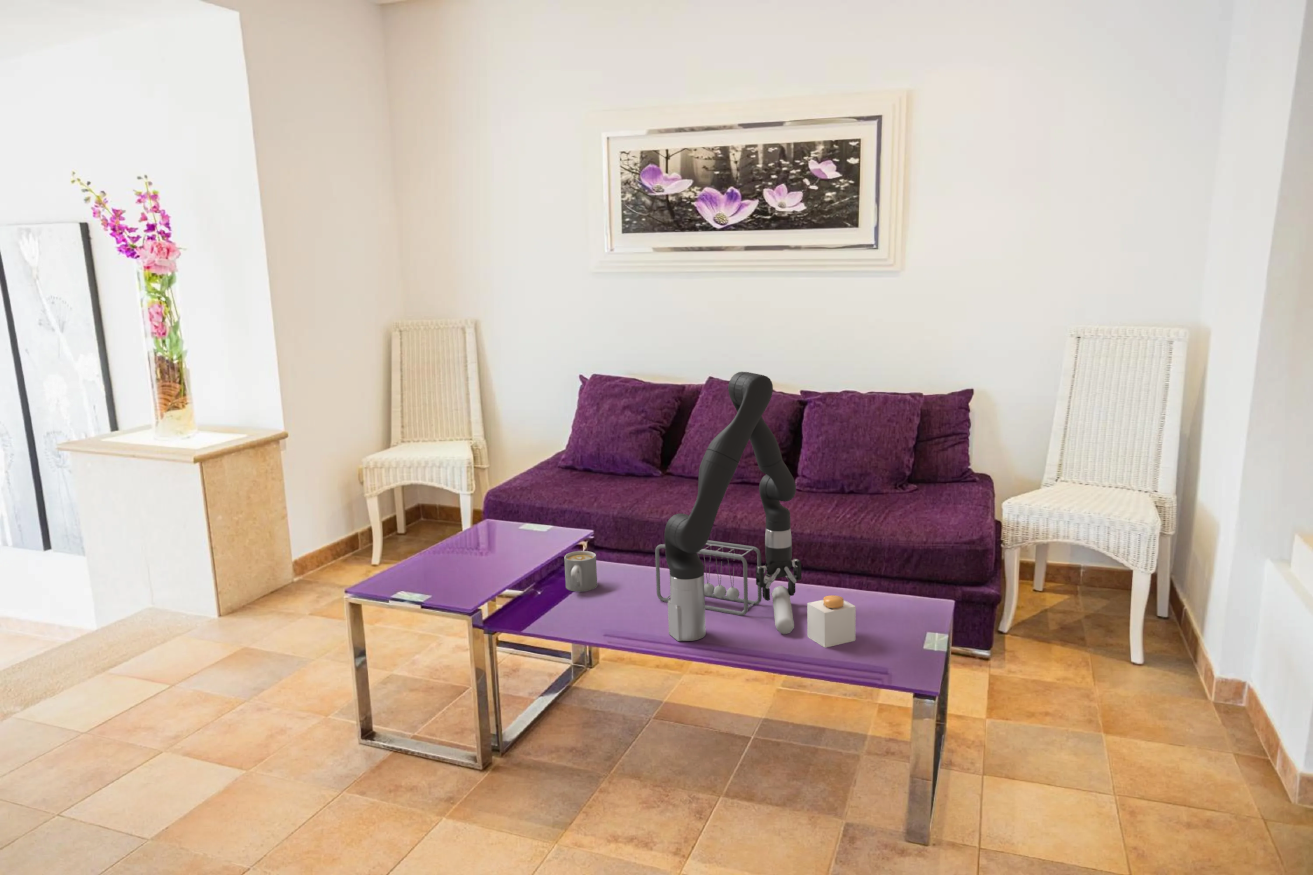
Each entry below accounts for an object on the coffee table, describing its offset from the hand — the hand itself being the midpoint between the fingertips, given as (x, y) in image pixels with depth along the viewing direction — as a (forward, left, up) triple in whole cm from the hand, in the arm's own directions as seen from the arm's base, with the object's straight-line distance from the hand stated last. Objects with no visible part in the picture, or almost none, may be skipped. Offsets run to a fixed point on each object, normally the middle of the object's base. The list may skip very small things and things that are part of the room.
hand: (779, 597), depth 262 cm
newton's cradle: (-17, +13, -3) cm, 21 cm away
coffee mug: (-46, +44, -3) cm, 64 cm away
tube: (-5, -8, -3) cm, 10 cm away
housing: (0, -26, -3) cm, 27 cm away
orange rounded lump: (0, -27, +5) cm, 28 cm away
